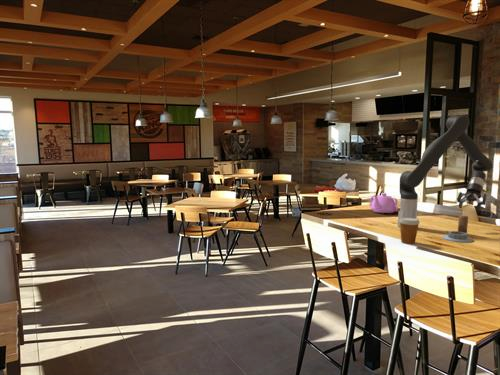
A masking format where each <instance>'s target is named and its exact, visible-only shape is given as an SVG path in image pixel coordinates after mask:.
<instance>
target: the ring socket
mask: <svg viewBox="0 0 500 375" xmlns="http://www.w3.org/2000/svg"><path fill="white" fill-rule="evenodd" d="M441 238H442V240H445V241H449V242H454V243H463V244H464V243H472V242H473V241H474V239H473V238H472V237H470V236H468V232H467V233H464V232H459V231H458V230H456V231H455V230H450V231H449V230H448V233H447V234H443V235H442V237H441Z"/></svg>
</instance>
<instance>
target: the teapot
mask: <svg viewBox="0 0 500 375" xmlns="http://www.w3.org/2000/svg"><path fill="white" fill-rule="evenodd" d="M369 207H370V209H371V210H372V211H373V212H375V213H380V214H384V213H387V214H393V213H394V212H396V211H399V207H398V199H397V198H395V197H392V196H391V195H387V193H386V192H382V193H381V194H379V195H378V194H377V195H375V194H373V195H372V196H371V197H370V204H369Z"/></svg>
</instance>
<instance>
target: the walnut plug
mask: <svg viewBox="0 0 500 375" xmlns="http://www.w3.org/2000/svg"><path fill="white" fill-rule="evenodd" d="M468 223H469V216H468V215H459V216H458V226H457V231H459V232H464V233H467V234H468Z"/></svg>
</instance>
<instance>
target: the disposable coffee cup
mask: <svg viewBox="0 0 500 375" xmlns="http://www.w3.org/2000/svg"><path fill="white" fill-rule="evenodd" d="M399 222H400V227H399V230H400V242H401V243H402V244H405V245H415V244H416V239H417V235H418V234H417V233H418V228H419V225H420V220H419V218H410V217H402V218H400V220H399Z"/></svg>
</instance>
